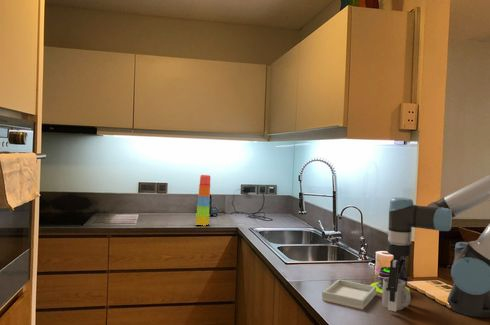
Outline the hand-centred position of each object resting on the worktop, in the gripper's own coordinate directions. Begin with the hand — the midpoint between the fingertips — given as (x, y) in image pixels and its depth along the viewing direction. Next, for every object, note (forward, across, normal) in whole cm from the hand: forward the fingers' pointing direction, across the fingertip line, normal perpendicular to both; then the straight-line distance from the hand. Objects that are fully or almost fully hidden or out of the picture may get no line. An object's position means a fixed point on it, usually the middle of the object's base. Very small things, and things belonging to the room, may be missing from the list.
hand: (396, 304), depth 142 cm
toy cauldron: (+1, -19, -6) cm, 20 cm away
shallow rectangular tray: (+1, 0, -16) cm, 16 cm away
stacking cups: (+2, -75, -143) cm, 161 cm away
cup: (+1, 0, 0) cm, 1 cm away
